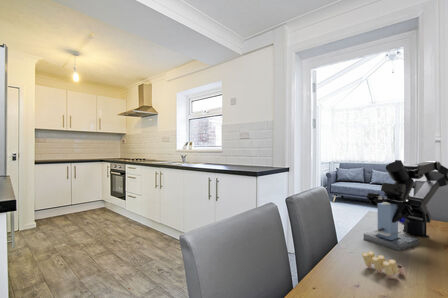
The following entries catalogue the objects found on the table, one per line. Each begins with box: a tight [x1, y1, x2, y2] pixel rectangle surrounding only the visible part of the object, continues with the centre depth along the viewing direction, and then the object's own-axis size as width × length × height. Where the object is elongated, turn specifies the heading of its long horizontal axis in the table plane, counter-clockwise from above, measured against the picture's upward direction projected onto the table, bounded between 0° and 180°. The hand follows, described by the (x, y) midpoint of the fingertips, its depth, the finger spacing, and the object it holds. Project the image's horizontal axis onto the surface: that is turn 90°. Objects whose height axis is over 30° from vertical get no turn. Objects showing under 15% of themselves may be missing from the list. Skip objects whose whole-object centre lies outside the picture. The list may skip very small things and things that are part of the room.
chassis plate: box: [363, 230, 420, 252], centre depth 86 cm, size 14×12×2 cm
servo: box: [374, 202, 402, 241], centre depth 85 cm, size 10×4×13 cm, turn 116°
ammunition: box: [361, 250, 405, 280], centre depth 63 cm, size 5×7×8 cm
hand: (385, 220), depth 84 cm, fingers closed on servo, 4 cm apart
